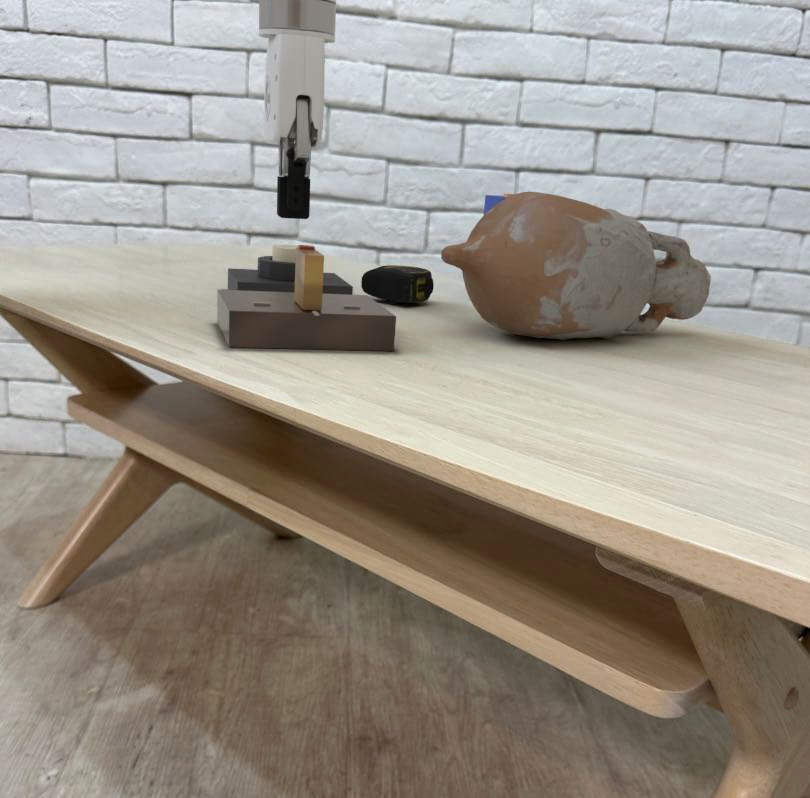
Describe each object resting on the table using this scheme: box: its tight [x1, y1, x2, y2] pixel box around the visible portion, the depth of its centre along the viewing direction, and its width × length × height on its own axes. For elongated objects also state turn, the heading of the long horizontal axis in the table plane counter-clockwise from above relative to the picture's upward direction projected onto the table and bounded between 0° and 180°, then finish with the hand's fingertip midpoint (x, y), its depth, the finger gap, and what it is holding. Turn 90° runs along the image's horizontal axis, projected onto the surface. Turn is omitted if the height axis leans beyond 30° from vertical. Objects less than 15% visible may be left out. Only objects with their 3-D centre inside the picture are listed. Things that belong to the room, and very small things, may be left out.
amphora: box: [440, 191, 712, 341], centre depth 96 cm, size 14×16×30 cm
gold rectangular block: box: [294, 244, 325, 311], centre depth 84 cm, size 5×2×5 cm, turn 14°
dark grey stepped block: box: [227, 255, 354, 295], centre depth 107 cm, size 12×10×4 cm
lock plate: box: [216, 289, 397, 352], centre depth 87 cm, size 14×12×3 cm
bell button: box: [271, 244, 298, 263], centre depth 106 cm, size 4×4×2 cm
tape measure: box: [360, 264, 434, 305], centre depth 110 cm, size 7×7×4 cm
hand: (293, 217), depth 105 cm, fingers closed
